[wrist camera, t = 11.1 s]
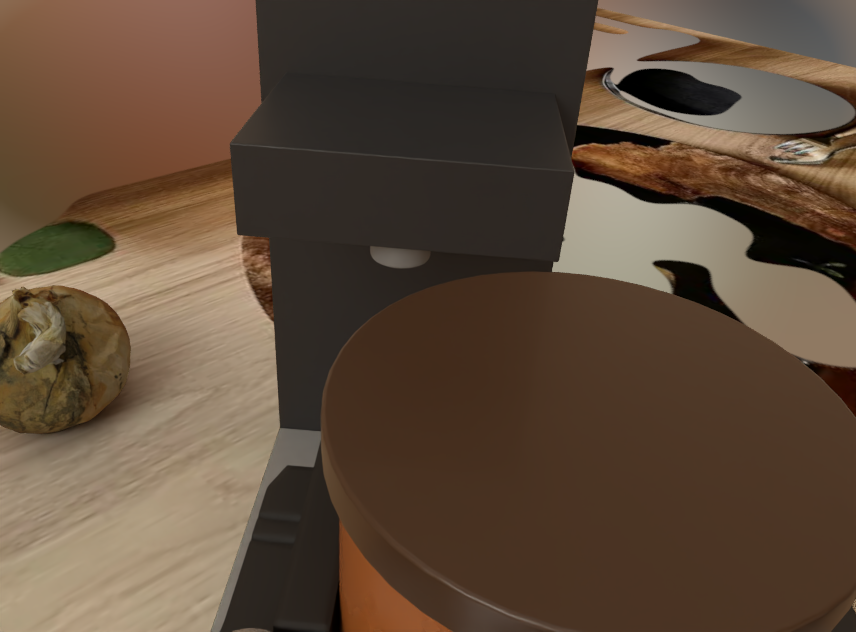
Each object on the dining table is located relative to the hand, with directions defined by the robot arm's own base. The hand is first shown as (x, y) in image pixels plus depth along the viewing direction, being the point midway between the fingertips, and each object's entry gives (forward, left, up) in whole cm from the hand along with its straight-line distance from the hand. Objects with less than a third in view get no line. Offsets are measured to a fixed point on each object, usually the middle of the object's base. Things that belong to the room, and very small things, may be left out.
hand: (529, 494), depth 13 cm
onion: (+29, -5, -18) cm, 35 cm away
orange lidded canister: (-1, +2, -6) cm, 6 cm away
